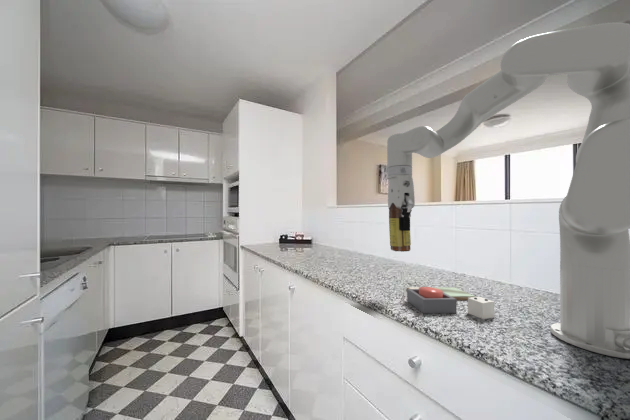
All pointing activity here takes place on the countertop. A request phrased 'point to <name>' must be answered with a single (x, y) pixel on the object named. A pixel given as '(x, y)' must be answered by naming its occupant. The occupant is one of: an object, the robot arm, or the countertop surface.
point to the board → (452, 292)
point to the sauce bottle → (397, 231)
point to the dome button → (430, 292)
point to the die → (481, 307)
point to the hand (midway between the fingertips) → (399, 229)
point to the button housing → (432, 303)
